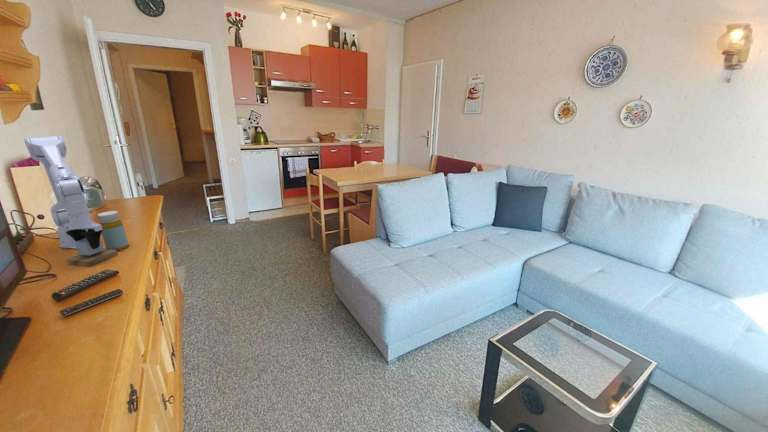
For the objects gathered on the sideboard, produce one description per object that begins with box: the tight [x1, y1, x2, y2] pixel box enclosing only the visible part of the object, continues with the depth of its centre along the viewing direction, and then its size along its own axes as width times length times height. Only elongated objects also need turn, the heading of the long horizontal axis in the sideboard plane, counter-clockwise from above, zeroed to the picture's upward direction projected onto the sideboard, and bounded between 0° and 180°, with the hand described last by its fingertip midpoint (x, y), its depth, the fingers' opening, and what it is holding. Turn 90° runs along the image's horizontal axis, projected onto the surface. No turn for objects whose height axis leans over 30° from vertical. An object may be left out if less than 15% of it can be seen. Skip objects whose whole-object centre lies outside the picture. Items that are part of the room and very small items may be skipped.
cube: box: [75, 238, 105, 256], centre depth 116 cm, size 5×5×5 cm
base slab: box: [66, 248, 119, 268], centre depth 117 cm, size 10×10×2 cm
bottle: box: [96, 210, 130, 252], centre depth 125 cm, size 7×7×15 cm
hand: (90, 247), depth 116 cm, fingers closed on cube, 5 cm apart
